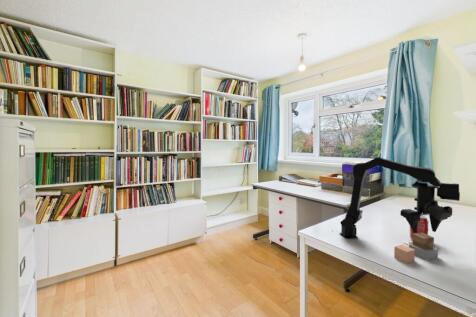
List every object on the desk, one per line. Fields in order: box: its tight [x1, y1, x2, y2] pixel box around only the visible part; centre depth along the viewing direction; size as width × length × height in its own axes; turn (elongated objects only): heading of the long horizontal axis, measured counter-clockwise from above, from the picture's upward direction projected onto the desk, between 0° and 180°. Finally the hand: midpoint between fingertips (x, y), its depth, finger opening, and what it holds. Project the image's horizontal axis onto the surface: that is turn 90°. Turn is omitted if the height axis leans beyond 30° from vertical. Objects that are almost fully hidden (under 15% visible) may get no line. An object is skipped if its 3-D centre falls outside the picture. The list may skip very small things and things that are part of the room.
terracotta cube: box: [393, 244, 416, 264], centre depth 92 cm, size 5×5×5 cm
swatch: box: [403, 240, 413, 246], centre depth 104 cm, size 7×7×1 cm
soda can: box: [409, 215, 429, 240], centre depth 109 cm, size 7×7×12 cm
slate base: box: [408, 244, 439, 261], centre depth 96 cm, size 7×7×4 cm
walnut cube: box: [412, 233, 435, 250], centre depth 95 cm, size 5×5×5 cm
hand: (424, 232), depth 95 cm, fingers open, 9 cm apart
